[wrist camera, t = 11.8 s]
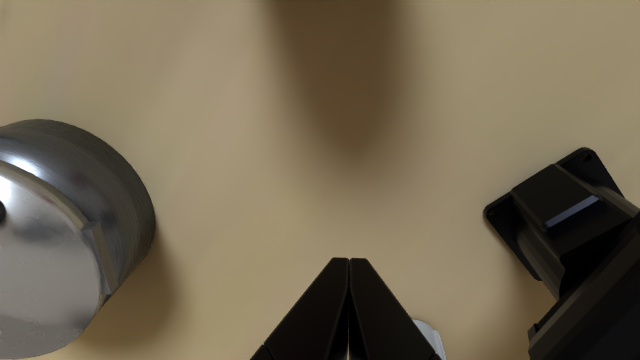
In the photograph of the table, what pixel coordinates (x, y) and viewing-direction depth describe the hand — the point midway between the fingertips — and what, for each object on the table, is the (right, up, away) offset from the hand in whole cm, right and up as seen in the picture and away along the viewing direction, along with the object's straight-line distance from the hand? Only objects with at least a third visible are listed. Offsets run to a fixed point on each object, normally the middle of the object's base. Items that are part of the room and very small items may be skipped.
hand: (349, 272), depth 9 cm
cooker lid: (-18, -2, +10) cm, 21 cm away
